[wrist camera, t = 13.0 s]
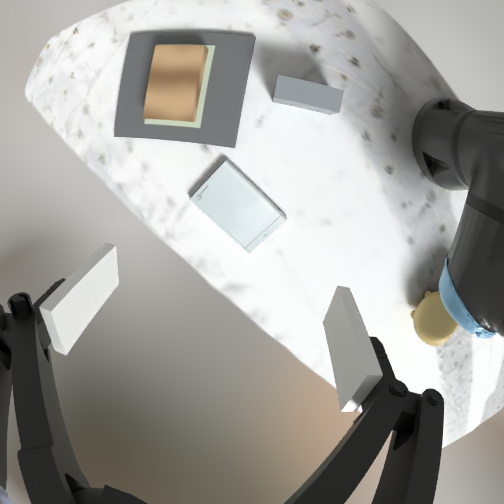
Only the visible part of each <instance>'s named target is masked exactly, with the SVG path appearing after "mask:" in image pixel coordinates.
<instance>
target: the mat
mask: <svg viewBox="0 0 504 504" xmlns="http://www.w3.org/2000/svg"><path fill="white" fill-rule="evenodd" d="M255 39H256V37H255V36H249V35H239V34H228V33H212V32H161V33H146V34H135V35H131V37H130V41H129V45H128V49H127V54H126V59H125V64H124V69H123V74H122V80H121V86H120V92H119V99H118V106H117V114H116V123H115V133H114V137H133V138H149V139H162V140H173V141H183V142H193V143H201V144H209V145H216V146H224V147H230V148H235V145H236V139H237V133H238V128H239V122H240V116H241V111H242V105H243V100H244V94H245V89H246V84H247V79H248V73H249V68H250V63H251V58H252V53H253V49H254V44H255ZM156 45H205V46H206V47H207V49H208V55H207V60H206V65H205V70H204V75H203V80H202V86H201V91H200V97H199V103H198V109H197V115H196V121H195V122H186V121H174V120H159V119H143V113H144V106H145V99H146V92H147V86H148V81H149V75H150V70H151V65H152V60H153V55H154V50H155V46H156Z"/></svg>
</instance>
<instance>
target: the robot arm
mask: <svg viewBox="0 0 504 504" xmlns="http://www.w3.org/2000/svg"><path fill="white" fill-rule="evenodd" d="M413 149H414V154H415V157H416V160H417V163H418V165H419V167H420V169H421V170H422V172H423V173H424V175H425V176H426V177H427V178H428V179H429V180H430V181H431V182H433V183H435V184H436V185H438V186H440V187H443V188H445V189H448V190H469V191H468V195H467V199H466V202H465V206H464V209H463V213H462V216H461V219H460V223H459V226H458V229H457V232H456V235H455V238H454V240H453V243H452V246H451V248H450V251H449V253H448V255H447V256H446V259H445V266H444V269H443V271H442V274H441V277H440V280H439V292H440V297H441V300H442V302H443V304H444V306H445V308H446V310H447V311H448V313H449V314H450V315H451V316H452V318H453V319H454V320H455V321H456V322H457V323H458V324H459V325H460V326H461V327H462V328H464V329H465V330H466V331H468V332H469V333H471V334H474V333H475V334H476V335H477V337H480V338H490V337H492V336H493V335H495V334H496V333H499V334H500V335H501V336H502V337H503V338H504V112H493V111H480V110H479V111H478V110H475V109H474V108H472V107H470V106H468V105H467V104H465V103H463V102H461V101H459V100H456V99H451V98H440V99H435V100H432V101H430V102H428V103H427V104H426V105H425V106H424V107H423V108H422V109H421V110H420V112H419V113H418V115H417V117H416V120H415V123H414V128H413ZM118 284H119V279H118V268H117V254H116V245H112V244H107V243H105V244H104V245H103V246H102V247H101V248H100V249H98V250H97V251H96V252H95V253H94V254H93V255H92V256H91V257H90V258H88V259H87V260H86V261H85V262H84V263H83V264H82V265H81V266H80V267H79V268H78V269H77V270H75V271H74V272H73V273H72V274H71V275H70V276H69V277H68V278H67V279H64V278H63V279H61V280H59V281H57V282H55V283H54V284H53V285H52V286H51V287H50V289H48V290H47V291H46V293H45V294H43V295H42V296H41V297H40V298H39V299H38V300H37V301H36V302H35V303H34V304H33V305H32V302H31V298H30V296H29V295H28V294H27V293H24V292H23V293H17V294H15V295H13V296H11V297H10V299H9V300H8V303H7V304H8V307H9V309H10V312H11V313H5V312H4V309H3V307H2V305H0V504H13V503H12V501H11V499H10V498H9V497H8V495H7V493H6V491H5V490H6V481H7V427H8V415H9V405H10V397H11V390H12V384H13V396H14V405H15V412H16V420H17V426H18V432H19V437H20V442H21V450H19V451H18V461H19V465H20V469H21V473H22V476H23V480H24V483H25V486H26V489H27V493H28V495H29V498H30V501H31V504H147V503H146V502H144V501H142V500H140V499H138V498H137V497H135V496H133V495H131V494H128V493H126V492H123V491H120V490H117V489H115V488H112V487H109V486H107V485H105V486H104V488H91V487H90V485H89V483H88V481H87V479H86V477H85V476H84V474H83V473H82V471H81V469H80V467H79V465H78V463H77V460H76V457H75V454H74V451H73V448H72V446H71V443H70V440H69V436H68V434H67V430H66V426H65V423H64V420H63V416H62V412H61V408H60V404H59V400H58V396H57V391H56V386H55V381H54V375H53V370H52V363H51V357H50V351H49V348H48V346H49V345H50V343H51V342H52V345H53V347H54V350H55V351H58V352H60V353H62V354H64V355H67V353H68V352H69V350H70V349H71V348H72V346H73V345H74V343H75V342H76V340H77V339H78V338H79V336H80V334H81V333H82V332H83V330H84V329H85V328H86V326H87V325H88V324H89V322H90V321H91V320H92V318H93V317H94V316H95V314H96V313H97V312H98V310H99V309H100V308H101V306H102V305H103V304H104V302H105V301H106V299H107V298H108V297H109V296H110V294H111V293H112V292H113V291H114V290H115V288H116V287H117V286H118ZM323 324H324V329H325V333H326V338H327V343H328V347H329V352H330V357H331V362H332V367H333V372H334V377H335V382H336V387H337V392H338V398H339V404H340V409H341V412H345V411H356V410H357V409H358V408H359V406H360V405H361V406H362V410H363V411H362V413H361V414H360V415H359V416H358V417H357V418H356V419H355V421H354V422H353V425H352V426H351V428H350V429H349V430H348V432H347V433H346V434H345V436H344V437H343V438H342V440H341V441H340V442H339V443H338V445H337V446H336V447H335V449H334V450H333V451H332V452H331V453H330V455H329V456H328V457H327V458H326V460H325V461H324V462H323V463H322V464H321V465H320V466H319V467H318V469H317V470H316V471H315V472H314V473H313V474H312V475H311V477H309V479H308V480H307V481H306V482H305V483H304V484H303V485H302V486H301V487H300V488H299V489H298V490H297V491H296V492H295V493H294V494H293V495H292V496H291V497H290V498H289V499H288V500H287V501H286V502H285V503H284V504H344V503H345V502H346V501H347V499H348V498H349V497H350V495H351V494H352V492H353V491H354V490H355V488H356V487H357V485H358V484H359V483H360V481H361V480H362V478H363V477H364V476H365V474H366V472H367V471H368V469H369V468H370V466H371V465H372V463H373V462H374V460H375V459H376V457H377V455H378V454H379V452H380V450H381V449H382V447H383V445H384V443H385V442H386V440H387V438H388V436H389V434H390V432H391V431H392V430H393V433H392V437H391V441H390V445H389V450H388V454H387V457H386V461H385V464H384V468H383V471H382V475H381V478H380V481H379V484H378V487H377V490H376V493H375V495H374V498H373V501H372V504H433V500H434V496H435V490H436V485H437V480H438V473H439V466H440V459H441V458H440V457H441V450H442V439H443V423H444V399H443V397H442V395H441V394H440V393H439V392H438V391H436V390H435V389H426V390H425V391H424V392H423V393H422V394H417V393H413V392H409V391H408V388H407V387H406V385H405V384H404V383H403V382H401V381H399V380H397V379H396V378H395V375H394V372H393V370H392V367H391V364H390V362H389V359H388V357H387V354H386V353H385V349H384V347H383V344H382V343H381V342H380V341H379V340H378V338H377V337H369V335H368V333H367V330H366V327H365V325H364V322H363V320H362V317H361V315H360V312H359V310H358V307H357V305H356V303H355V300H354V298H353V295H352V293H351V291H350V288H348V287H342V286H337V288H336V291H335V293H334V296H333V299H332V301H331V304H330V306H329V309H328V311H327V314H326V316H325V319H324V321H323Z"/></svg>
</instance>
